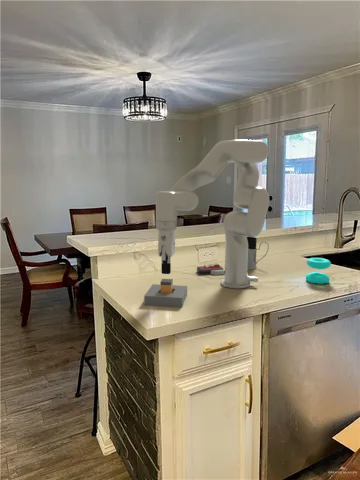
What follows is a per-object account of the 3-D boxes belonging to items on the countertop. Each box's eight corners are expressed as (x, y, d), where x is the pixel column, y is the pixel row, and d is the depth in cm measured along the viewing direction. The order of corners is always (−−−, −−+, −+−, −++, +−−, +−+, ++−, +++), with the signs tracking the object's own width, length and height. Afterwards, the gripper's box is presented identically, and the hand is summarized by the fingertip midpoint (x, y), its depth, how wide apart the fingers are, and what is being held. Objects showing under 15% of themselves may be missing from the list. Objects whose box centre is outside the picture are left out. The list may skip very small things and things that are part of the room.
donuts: (302, 258, 163) (317, 256, 168) (300, 280, 165) (315, 277, 170) (320, 263, 155) (336, 260, 160) (319, 286, 156) (334, 282, 162)
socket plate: (187, 294, 146) (187, 285, 145) (182, 307, 132) (182, 297, 132) (152, 292, 148) (152, 284, 147) (144, 305, 134) (144, 295, 134)
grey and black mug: (240, 264, 193) (241, 236, 190) (268, 266, 188) (269, 237, 185) (237, 268, 185) (238, 239, 182) (266, 270, 180) (268, 240, 177)
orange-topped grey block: (172, 296, 142) (172, 279, 140) (171, 300, 138) (171, 282, 137) (162, 296, 142) (162, 278, 141) (160, 299, 138) (160, 281, 137)
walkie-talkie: (199, 277, 171) (239, 274, 176) (199, 268, 170) (239, 265, 175) (194, 272, 179) (232, 269, 184) (194, 263, 178) (233, 261, 183)
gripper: (172, 228, 127) (172, 279, 130) (179, 222, 141) (178, 268, 145) (151, 227, 128) (151, 278, 131) (160, 222, 142) (160, 267, 146)
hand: (166, 273), depth 138 cm, fingers closed
